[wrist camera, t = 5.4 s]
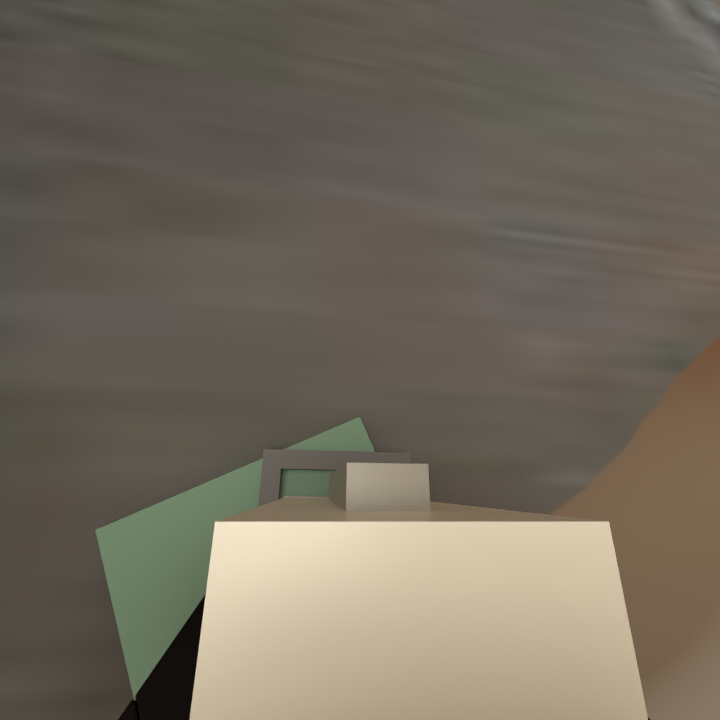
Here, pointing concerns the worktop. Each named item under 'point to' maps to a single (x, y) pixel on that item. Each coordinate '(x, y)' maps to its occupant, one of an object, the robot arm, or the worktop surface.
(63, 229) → the worktop surface
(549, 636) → the plug
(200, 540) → the board
